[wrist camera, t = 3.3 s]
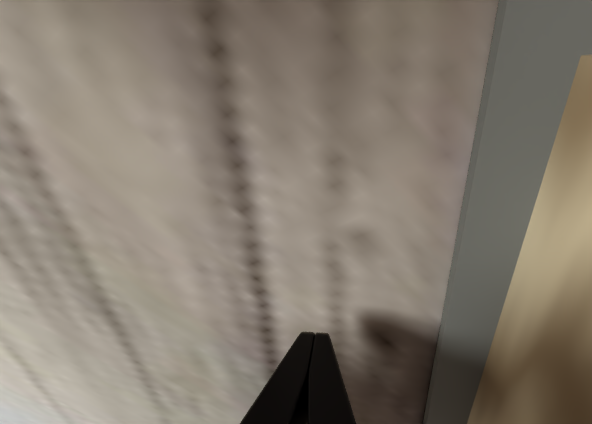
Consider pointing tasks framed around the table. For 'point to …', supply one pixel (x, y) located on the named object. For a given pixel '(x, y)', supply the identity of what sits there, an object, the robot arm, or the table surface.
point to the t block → (549, 291)
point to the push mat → (503, 184)
